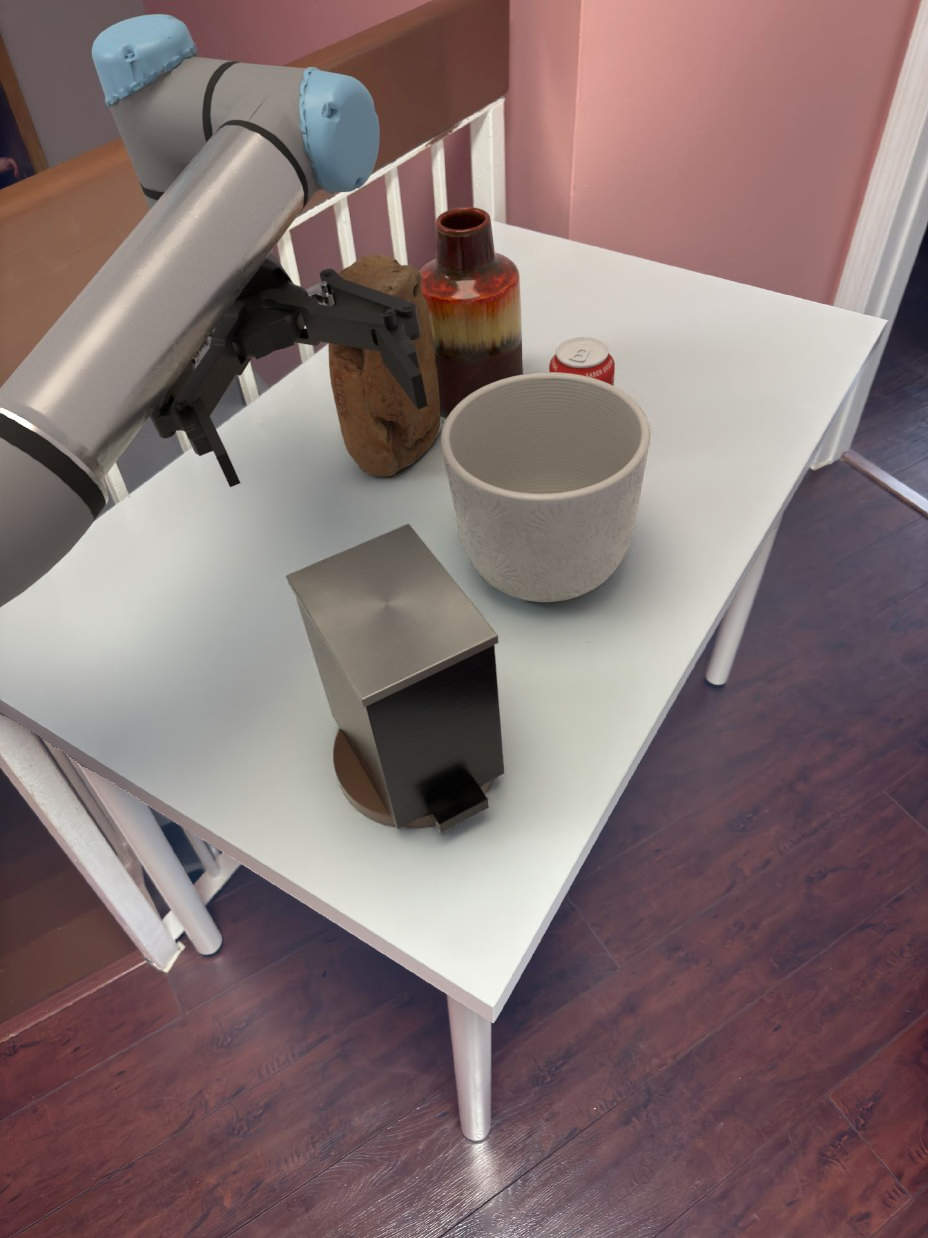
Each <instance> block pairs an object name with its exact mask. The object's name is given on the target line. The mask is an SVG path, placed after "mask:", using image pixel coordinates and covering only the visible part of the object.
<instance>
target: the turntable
mask: <svg viewBox="0 0 928 1238" xmlns="http://www.w3.org/2000/svg"><path fill="white" fill-rule="evenodd" d="M332 762H333V766H334V767H333V768H334V771H335V774H336V777H337V780H338V784H339V786H340V789H341V791H342V793H343V795H344V797H346V799H347V800H348V802H349V803H350V804H351V805H352V806H353V807H354V808H355V809H356V810H357V811H359V812H360V813H361V814H362V815H364V816H365V817H367V818H369V819H370V820H372V821H375V822H376V823H378V824H379V823H380V824H382V825H385V826H390V827H394V828H397V827H396V825H395V824H394V822H393V820H392V818H391V817H390V815H389V813H388V811H387V810H386V808H385V806H384V804H383V803H382V801H381V799H380V797H379V796H378V794H377V792H376V791H375V789H374V787H373V785H372V784H371V782H370V780H369V778H368V777H367V775H366V773H365V771H364V770H363V768H362V766H361V764H360V763H359V761H358V759H357V757H356V756H355V754H354V752H353V751H352V749H351V747H350V745H349V744H348V742H347V740H346V738H345V737H344V735H343V733H342V731H341V730H340V728H339V727H338V730H337V731H336V736H335V739H334V743H333V749H332ZM494 780H495V779H493V780H491V781H489V782H487V783H485V784H484V785H482V786H480V788H481V789H482V791H483V792H484V794H485V795H486V794H487V792H488V790H489V789H490V788H491V786H492V784H493V782H494ZM434 826H436V824H435V823H434V821H433V819H432V818H431V816H430V814H429V813H428V814H427V815H425V816H423V817H421V818H419V819H417V820H415V821H413V822H411V823H409V824H408V825H406V826H404V827H402V828H401V829H422V828H431V827H434Z"/></svg>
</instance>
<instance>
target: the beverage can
mask: <svg viewBox="0 0 928 1238" xmlns="http://www.w3.org/2000/svg"><path fill="white" fill-rule="evenodd" d="M548 365H549V366H548V368H549V369H548V372H555V373H569V374H576V375H582V376H586V377H591V378H594V379H597V380H600V381H603V382H606V383H608V384H610V385H612V386H614V387H615V370H616V368H615V366H616V364H615V359H614V358H613V356H612V355H611V354H610V351H609V347H608V346H607V344H606V343H604V342H603V341H601V340H600V339H597V338H593V337H589V336H577V337H573V338H569V339H567V340H564V341H562V342H561V343H560V344H559V345H558V346H557V348H556V350H555V354H554V355H553V356H552V358H551V359H550V361H549V364H548Z"/></svg>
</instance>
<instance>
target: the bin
mask: <svg viewBox="0 0 928 1238" xmlns="http://www.w3.org/2000/svg"><path fill="white" fill-rule="evenodd" d="M285 579H286V582H287V585H288V586H289V588H290V589H291V591H292V593H293V595H294V596H295V600H296V603H297V607H298V609H299V612H300V616H301V619H302V622H303V626H304V629H305V631H306V635H307V638H308V642H309V644H310V648H311V651H312V654H313V657H314V661H315V664H316V668H317V670H318V674H319V677H320V680H321V683H322V687H323V690H324V693H325V696H326V699H327V703H328V706H329V709H330V712H331V716H332V718H333V719H334V721H335V723H336V725H337V726H338V729H339V728H340V730H341V731H342V733H343V735H344V737H345V738H346V740H347V742H348V744H349V745H350V747H351V749H352V751H353V752H354V754H355V756H356V757H357V759H358V761H359V763H360V764H361V766H362V768H363V770H364V771H365V773H366V775H367V777H368V778H369V780H370V782H371V784H372V785H373V787H374V789H375V791H376V792H377V794H378V796H379V797H380V799H381V801H382V803H383V804H384V806H385V808H386V810H387V811H388V813H389V815H390V817H391V818H392V820H393V822H394V824H395V825H396V827H395V828H396V829H397V830H400V829H403V828H402V827H404V826H406V825H408V824H409V823H411V822H413V821H415V820H417V819H419V818H421V817H423V816H425V815H427V814H428V813H429V814H430V816H431V818H432V819H433V821H434V823H435V824H436V825H435V826H436V827H437V829H438V831H439V832H440V834H442V833H444V832H446V831H448V830H450V829H451V828H454V827H456V826H457V825H459V824H461V823H463V822H465V821H467V820H469V819H470V818H472V817H474V816H476V815H478V814H480V813H481V812H483V811H485V810H487V809H490V805H489V804H490V803H489V799H488V797H487V795H486V793H485V794H484V792H483V791H482V789H481V788H480V786H482V785H484V784H485V783H487V782H489V781H491V780H493V779H494V780H496V779H497V778H498V777H501V776H502V775H504V774H505V763H504V751H503V738H502V723H501V712H500V711H501V709H500V700H499V699H500V697H499V687H498V685H499V684H498V671H497V661H496V646H495V645H497V644H499V635H498V633H497V632H496V631H495V629H494V628H493V627H492V626H491V624H490V623H489V621H487V619H486V618H485V617H484V615H483V614H482V613H481V612H480V610H479V609H478V607H476V605H474V603H473V602H472V601H471V599H470V598H469V597H468V596H467V594H466V593H465V592H464V591H463V590H462V588H461V587H460V585H458V583H457V582H456V580H454V578H453V577H452V576H451V574H450V573H449V572H448V571H447V570H446V568H445V567H444V566H443V564H442V563H441V562H440V561H439V559H438V558H437V557H436V556H435V554H434V553H433V552H432V550H431V549H430V548H429V546H428V545H427V544H426V543H425V542H424V540H423V539H422V538H421V536H419V534H418V533H417V532H416V531H415V529H414V528H413V526H411V524H410V523H406V524H404V525H401V526H399V527H397V528H395V529H392V530H390V531H387V532H385V533H383V534H380V535H378V536H375V537H374V538H370V539H369V540H366V541H364V542H361V543H359V544H356V545H354V546H352V547H350V548H347V549H346V550H343V551H340V552H338V553H335V554H333V555H331V556H328V557H326V558H324V559H322V560H319V561H317V562H314V563H312V564H310V565H307V566H305V567H302V568H300V569H298V570H296V571H295V570H294V571H293V572H291V573H289V574H286V575H285ZM494 780H493V781H494Z"/></svg>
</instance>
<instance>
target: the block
mask: <svg viewBox="0 0 928 1238" xmlns="http://www.w3.org/2000/svg"><path fill="white" fill-rule="evenodd" d="M338 274H339V275H340V276H341V277H342V278H343V279H345V280H348V281H351V282H354V283H357V284H360V285H363V286H366V287H369V288H371V289H374V290H377V291H380V292H383V293H386V294H389V295H392V296H395V297H398V298H401V299H403V300H406V301H409V302H412V303H414V304H415V305H416V309H417V314H418V319H419V324H420V330H421V337H420V338H418V339H416V340H411V341H412V343H413V344H414V345H415V346H416V351H417V355H418V360H419V368H417V369H418V370H419V371H420V373H421V374H422V379H423V384H424V389H425V394H426V399H427V404H428V406H426V407H424V408H421V409H419V410H418V409H417V408H416V406H415V405H414V404H413V402H412V401H411V399H410V398H409V397H408V395H407V394H406V393H405V391H404V390H403V389H402V387H401V386H400V384H399V383H398V382H397V380H396V379H395V378H394V376H393V375H392V374H391V372H390V371H389V369H388V368H387V367H386V365H385V364H384V363H383V361H382V357H381V353H380V351H374V350H368V349H362V348H356V347H350V346H344V345H338V344H332V343H328V345H327V347H328V349H327V350H328V370H329V378H330V386H331V391H332V395H333V401H334V405H335V410H336V414H337V418H338V422H339V427H340V432H341V436H342V440H343V443H344V446H345V448H346V451H347V452H348V455H349V456H350V457H351V458H352V460H353V462H354V463H355V464H356V465H357V466H358V468H359V470H360V471H362V473H364V474H367V475H370V476H374V477H379V478H389V477H392V476H393V475H396V474H397V473H399V472H400V471H401V470H403V469H405V468H407V467H409V466H411V465H413V464H414V463H416V461H418V460H419V459H420V458H421V457H422V455H424V454H425V453H426V452H427V451H428V450H429V449H430V448H431V446H432V445H433V443H434V441H435V440H436V438H437V437H438V436H439V432H440V429H441V415H440V399H439V386H438V376H437V369H436V365H435V354H434V345H433V335H432V330H431V324H430V322H429V314H428V307H427V303H426V301H425V299H424V297H423V296H422V279H421V273H420V270H419V268H418V267H417V266H414V265H412V264H402V265H401V264H400V262H399V261H398V260H397V259H395V258H394V257H392V256H389V255H384V254H371V253H370V254H368V255H364V256H361V257H359V258H358V259H356V260H355V261H354V262H353V263H352V264H351V265H349V266H347V267H345V268H343V269H342V270H340V272H339V273H338Z"/></svg>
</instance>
